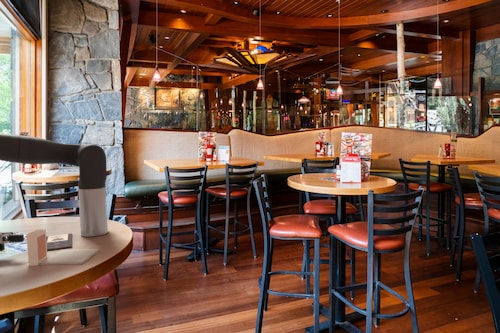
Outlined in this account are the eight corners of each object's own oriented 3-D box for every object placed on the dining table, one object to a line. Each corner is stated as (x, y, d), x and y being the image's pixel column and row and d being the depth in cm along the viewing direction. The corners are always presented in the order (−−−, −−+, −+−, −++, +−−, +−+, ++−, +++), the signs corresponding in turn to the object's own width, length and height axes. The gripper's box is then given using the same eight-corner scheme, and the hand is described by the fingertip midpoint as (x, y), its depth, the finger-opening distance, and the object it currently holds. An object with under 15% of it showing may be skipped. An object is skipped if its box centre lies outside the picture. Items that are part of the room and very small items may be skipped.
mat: (61, 251, 115) (61, 249, 115) (99, 250, 115) (99, 249, 115) (39, 264, 103) (39, 262, 103) (82, 264, 103) (81, 262, 103)
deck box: (39, 259, 107) (37, 229, 107) (47, 259, 107) (45, 229, 107) (28, 265, 102) (26, 234, 102) (37, 265, 102) (35, 234, 102)
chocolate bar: (40, 250, 115) (44, 236, 131) (40, 253, 115) (44, 239, 131) (71, 246, 119) (72, 233, 135) (72, 249, 119) (72, 235, 135)
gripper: (-65, 237, 97) (-5, 236, 97) (-25, 224, 111) (28, 223, 111) (-63, 264, 98) (-3, 263, 98) (-23, 248, 112) (29, 247, 112)
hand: (13, 242), depth 105 cm, fingers open, 8 cm apart
